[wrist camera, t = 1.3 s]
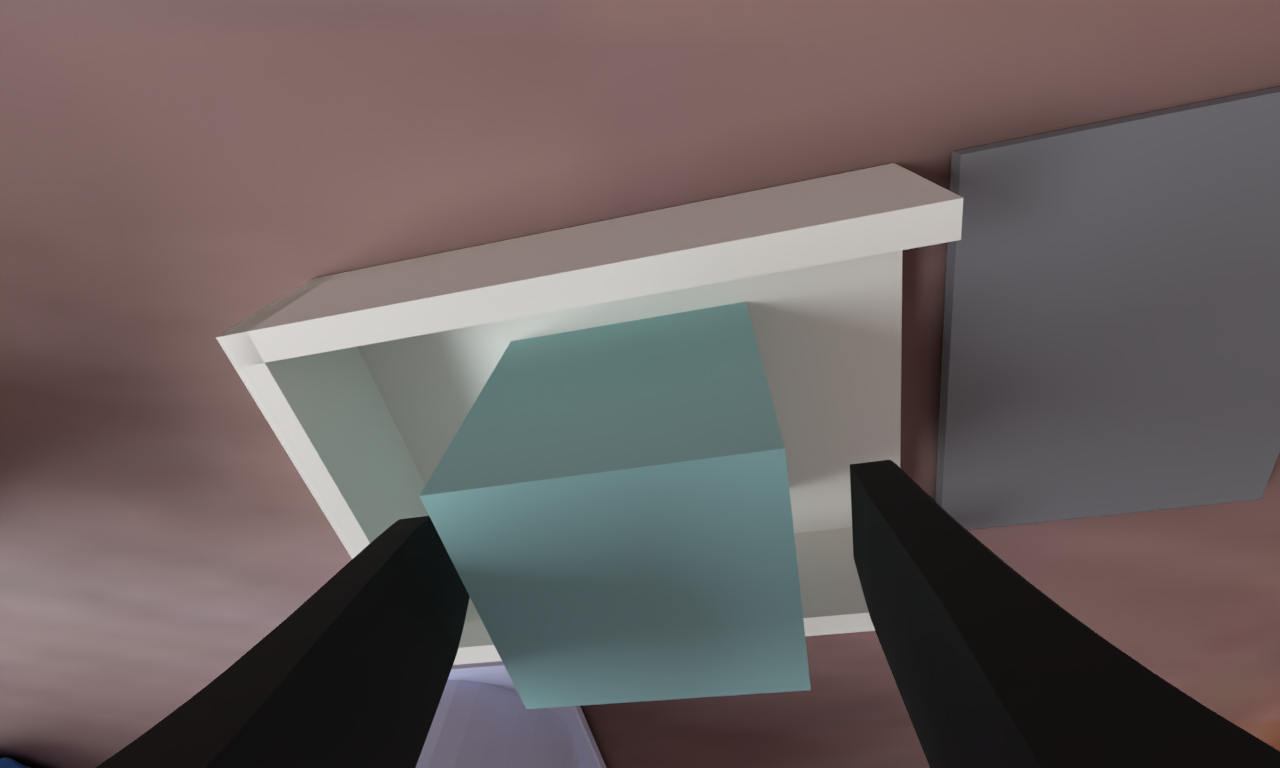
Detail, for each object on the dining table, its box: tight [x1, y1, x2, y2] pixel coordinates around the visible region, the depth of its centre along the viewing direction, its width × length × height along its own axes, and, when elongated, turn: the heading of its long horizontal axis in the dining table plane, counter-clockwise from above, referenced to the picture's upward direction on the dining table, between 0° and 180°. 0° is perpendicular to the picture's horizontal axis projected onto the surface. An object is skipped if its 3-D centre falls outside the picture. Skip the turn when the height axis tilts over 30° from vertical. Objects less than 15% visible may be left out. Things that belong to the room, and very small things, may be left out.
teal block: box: [419, 302, 811, 709], centre depth 11 cm, size 5×5×5 cm
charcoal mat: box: [935, 86, 1280, 530], centre depth 12 cm, size 9×7×1 cm
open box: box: [216, 163, 963, 665], centre depth 12 cm, size 9×12×3 cm
